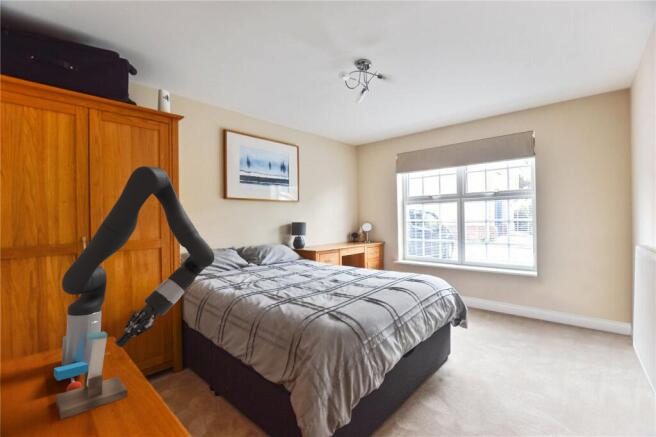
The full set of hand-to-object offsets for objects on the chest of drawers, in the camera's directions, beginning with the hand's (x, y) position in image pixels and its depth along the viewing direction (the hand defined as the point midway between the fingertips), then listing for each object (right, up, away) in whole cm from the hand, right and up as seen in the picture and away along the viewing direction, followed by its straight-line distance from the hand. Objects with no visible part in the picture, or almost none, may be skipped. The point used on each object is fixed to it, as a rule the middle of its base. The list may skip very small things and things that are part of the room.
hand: (117, 345), depth 87 cm
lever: (-17, -13, +4) cm, 22 cm away
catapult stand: (-4, -13, -4) cm, 14 cm away
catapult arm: (-4, -9, -4) cm, 11 cm away
